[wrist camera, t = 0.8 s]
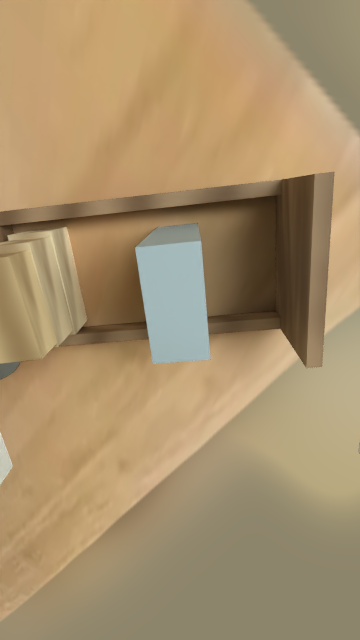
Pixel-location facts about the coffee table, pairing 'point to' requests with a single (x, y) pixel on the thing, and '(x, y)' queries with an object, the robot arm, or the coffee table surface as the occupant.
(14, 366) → the coaster
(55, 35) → the coffee table surface
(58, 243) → the offcut
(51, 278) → the offcut
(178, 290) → the light blue block
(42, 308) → the offcut
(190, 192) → the rack
